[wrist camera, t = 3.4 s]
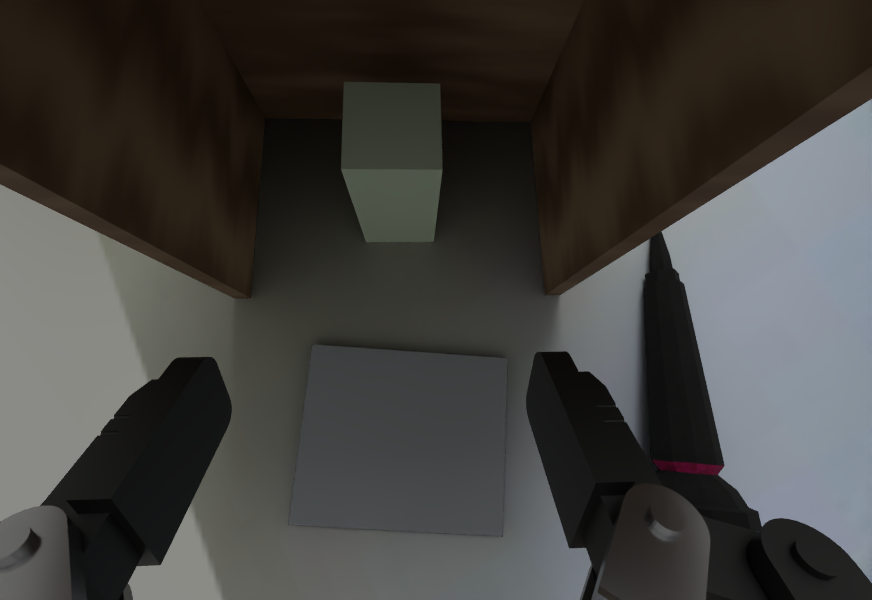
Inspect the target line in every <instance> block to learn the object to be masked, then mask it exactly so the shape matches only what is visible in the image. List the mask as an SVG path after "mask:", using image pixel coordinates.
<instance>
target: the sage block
mask: <svg viewBox="0 0 872 600" xmlns="http://www.w3.org/2000/svg"><path fill="white" fill-rule="evenodd" d="M442 170H443V168H442V133H441V98H440V84H435V83H381V82H344V92H343V123H342V153H341V171H342V173H343V176H344V179H345V182H346V185H347V188H348V191H349V194H350V197H351V200H352V203H353V205H354V208H355V211H356V214H357V217H358V220H359V223H360V226H361V229H362V232H363V235H364V237H365V240H366V242H434V235H435V227H436V219H437V211H438V203H439V194H440V186H441V178H442Z"/></svg>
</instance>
